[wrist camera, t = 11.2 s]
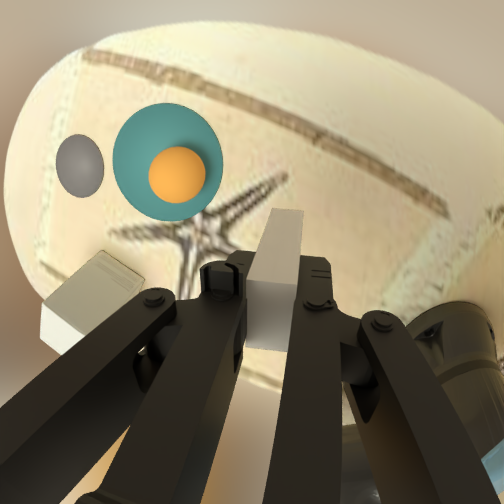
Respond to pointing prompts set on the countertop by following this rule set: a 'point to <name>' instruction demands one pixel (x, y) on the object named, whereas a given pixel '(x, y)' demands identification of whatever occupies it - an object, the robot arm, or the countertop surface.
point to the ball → (176, 174)
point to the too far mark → (79, 166)
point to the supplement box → (86, 301)
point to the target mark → (155, 141)
